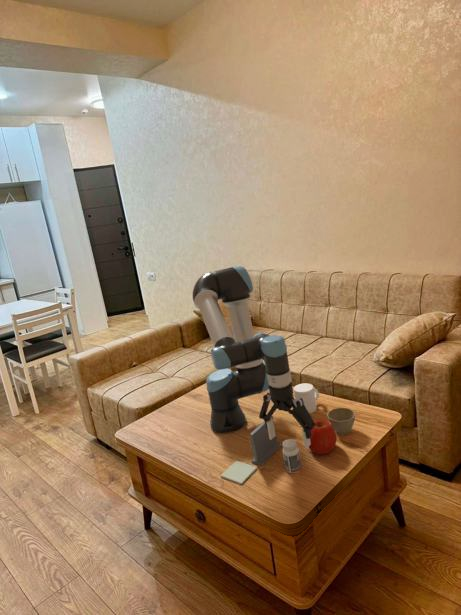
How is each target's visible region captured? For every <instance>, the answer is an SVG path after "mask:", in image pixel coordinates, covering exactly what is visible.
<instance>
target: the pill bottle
mask: <svg viewBox="0 0 461 615" xmlns="http://www.w3.org/2000/svg"><path fill="white" fill-rule="evenodd" d="M282 447H283V448H282V449H281V450H282V458H283V463H284V469H285V471H286V472H288V473H289V474H296V473H299V472H301V471H302V468H303V466H302V465H303V464H302V459H301V453H300V448H299V447H298V445H297V441H296V440H295V439H293V438H288V439H285V440H284V441H282Z"/></svg>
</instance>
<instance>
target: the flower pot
mask: <svg viewBox="0 0 461 615" xmlns="http://www.w3.org/2000/svg"><path fill="white" fill-rule="evenodd" d="M327 418H328V422H329V423H330V424H331V425H332V427H333V428H334V430H335V432H336V434H337V435H338V434H339V435H344V436H345V435H347V434H349V433H350V432H351V430H352V429H353V426H354V424H355V420H356V419H355V418H356V413H355V411H354V410H353V409H351V408H348V407H337V408H333V409H331V410H329V411H328V412H327Z"/></svg>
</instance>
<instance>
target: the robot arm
mask: <svg viewBox="0 0 461 615" xmlns="http://www.w3.org/2000/svg"><path fill="white" fill-rule="evenodd" d="M253 291H254V287H253V281H252V279H251V276H250V274H249V272H248V270H247V269H246V268H245V267H244V266H241V265H239V266H237V265H236V266H232V267H228V268H223V269H218V270H214V271H209V272H206V273H204V274H202V275H201V276H200V277H199V278H198V279H197V281H196V283H195V284H194V286H193V289H192V301H193V304H194V306H195V307H196V308H197V309H198V310H199V312H200V315H201V317H202V320H203V322H204V325H205V328H206V330H207V333H208V334H209V338H210V341H211V343H212V345H213V348H212V349H211V350H210V355H211V360H212V361H211V362H212V364H213V366H214V368H215V369H216V370H215V371H213V372H211V373H210V374H209V375H208V376H207V378H206V380H205V383H206V390H207V393H208V398H209V404H210V407H211V408H210V409H211V412H210V414H211V415H210V422H209V424H210V428H211V430H212V431H213V432H214V433H217V434H231V433H234V432H237V431H238V430H240V429H242V428H244V426H245V425H246V423H247V419H246V415H245V412H244V411H243V410H242V407H241V406H240V404H239V400H240V399H243V398H247V397H250V396H253V395H258V394H260V395H261V393H264V394H263V396H262V398H263V399H262V400H263V401H262V405H261V408H260V412H259V415H258V418H259V419H260V420H261V419H262V420H263V422H264V421H265V425H266V429H268V433H269V439H271V440H272V439H273V438H274V437H275V436H276V437H277V434H276V435H275V432H276V428H275V429H274V426H275V422H274V423H273V420H274V418H273V419H272V418H271V416H273V414H274V413H275V412H276V411H277V410H278V411H283V412H286V413H288V414H289V415H291V416H292V417H293V419H295V420H296V422H297V423H298V424H299V425H300V427H302V430H301V433H302V438H303V446H304V449H309V446H310V445H311V442H310V437H311V430H312V429H313V428H314V427H315V425H316V424H315V422H314V421H315V420H314V419H313V418H312V416H311V414H309V412H308V411H307V409H306V407H305V405H304V403H303V399H302V398H300V399H299V400H297V399H295V396H294V387H293V382H292V375H291V368H290V364H289V362H290V361H289V357H288V356H289V355H288V350H287V349H288V346H287V344H286V340H285V338H284V337H283V336H282V335H278V334H272V335H269V334H267V333H265V332H259V333H256V334H255V333H254V328H253V324H252V320H251V319H252V318H251V313H250V309H249V305H248V301H249V300H250V298H251V295H250V294H251V293H252V292H253ZM220 300H221V303H222V304H223V305H224V306H226V307H227V313H228V317H229V322H230V326H229V324H228V322H227V320H226V316H225V315H224V313H223V310H222V308H221V306H220V304H219V301H220ZM230 327H231V329H230ZM233 367H234V368H236V370H232V369H231V368H233ZM268 390H269V392H267V391H268ZM265 392H267V393H265ZM271 402H272V404H273V405H272V406H271V408H270V410H269V411H268V409H269V405H270V403H271ZM270 418H271V419H270Z"/></svg>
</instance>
